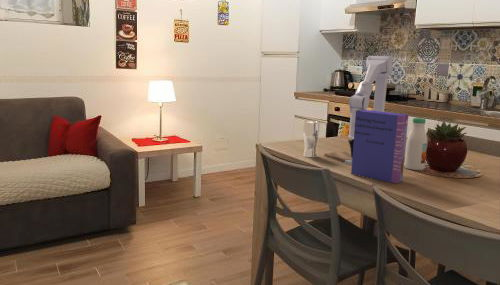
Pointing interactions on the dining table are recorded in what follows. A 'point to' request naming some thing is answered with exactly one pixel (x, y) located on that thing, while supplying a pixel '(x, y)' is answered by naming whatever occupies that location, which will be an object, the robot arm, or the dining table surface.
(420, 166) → the milk bottle
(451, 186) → the dining table surface
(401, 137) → the purple book
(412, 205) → the dining table surface
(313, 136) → the beer glass
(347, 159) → the door and jamb
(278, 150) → the dining table surface
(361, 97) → the robot arm
